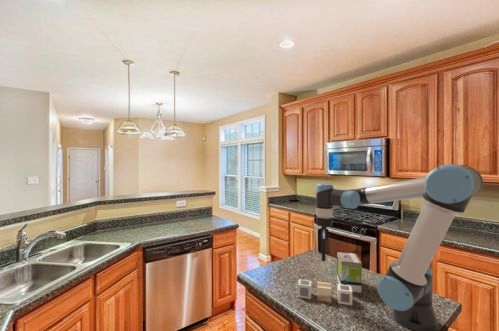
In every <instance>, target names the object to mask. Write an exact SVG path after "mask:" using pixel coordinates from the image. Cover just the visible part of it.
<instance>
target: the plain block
mask: <svg viewBox="0 0 499 331" xmlns="http://www.w3.org/2000/svg"><path fill="white" fill-rule="evenodd" d="M316 289H317V292H316V293H317V294H316V295H317V296H316V298H317V301H320V302H327V303H332V283H331V282H324V281H317V286H316Z"/></svg>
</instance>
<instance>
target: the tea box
mask: <svg viewBox="0 0 499 331" xmlns="http://www.w3.org/2000/svg"><path fill="white" fill-rule="evenodd" d="M362 270H363V263H362V261H361V260H360V258H359V257H358V255H357V254H356V253H351V252H339V251H338V252H337V254H336V279H337V282H338V284H340V285H348V286H351V288H352V293H358V294H359V293H361V294H362V287H363V286H362V282H363V281H362V278H363V276H362V275H363V271H362Z"/></svg>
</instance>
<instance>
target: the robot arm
mask: <svg viewBox="0 0 499 331" xmlns="http://www.w3.org/2000/svg"><path fill="white" fill-rule="evenodd" d="M483 187H484V179H483V177H482V174H480V172H479V171H478V170H477V169H475V168H474V167H471V166H470V165H469V166H468V165H465V164H464V165H462V164H456V163H452V164H451V163H449V164H444V165H443V164H442V165H440V166H438V167H437V166H436V167H435V168H434V169H432V170H431V171H430V172H428V174H427V175H426V176H425V177H420V178H413V179H407V180H401V181H395V182H390V183H389V182H388V183H385V184H383V183H382V184H379V185H373V186H368V187H360V188H353V189H336V188H334V185H333V184H330V183H319V184H317V185H316V192H315V194H316V195H315V196H316V197H315V198H316V200H315V201H316V205H315V215H316V217H315V225H316V226H319V227H320V228H319V239H320V251H318V252H319V254H320V263H319V264H320V265H319V267H320V268H323V269H327V262H328V261H327V258H328V257H327V253H329V251H328V250H327V240H328V238H329V228H330V227H332V226H333V221H334V220H333V213H335V210H334V208H333V207H340V208H345V209H352V210H353V209H357V208H358V207H359V206H363V205H370V204H377V203H388V202H398V201H404V200H405V201H406V200H413V199H422V200H423V203H424V205H423V206H422V208H421V211H420V213H419V214H418V217H417V219H416V222H415V223H414V225H413V227H412V230H411V232H410V234H409V236H408V238H407V240H406V242H405V245H404V247H403V249H402V251H401V253H400V255H399V257H398V258H397V259H398V260H396V261H391V262H390V265H389V266H388V269H387V271H386V273H385V275H383V276H382V277H380V279H379V280H378V282H377V286H376V288H377V293H378V295H379V297H380V299H381V300H382V301H383V303H384V304H386V305H387V306H388V307H389V308H391V309H392V318H393V319H394V321H395V322H397V323H398V324H400V325H401V326H403V327H405V328H406V329H409V330H411V331H438V330H439V320H438V318H437V316H436V312H435V310H434V307H433V276H434V274H433V269H432V268H431V267H430V265H431V262H432V261H433V260H434V257H435V256H436V253H437V251H438V250H439V247H440V245H441V244H442V242H443V240H444V238H445V237H446V234H447V232H448V230H449V228H450V226H451V224H452V223H453V220H454V218H455V217H456V216H457V215H462V214H464V213H465V211H466V209H467V207H468V206H469V204H470V202H471V200H472V198H474V197H476V196H477V195H478V194H479V193H481V191H482V189H483ZM328 227H329V228H328Z"/></svg>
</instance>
